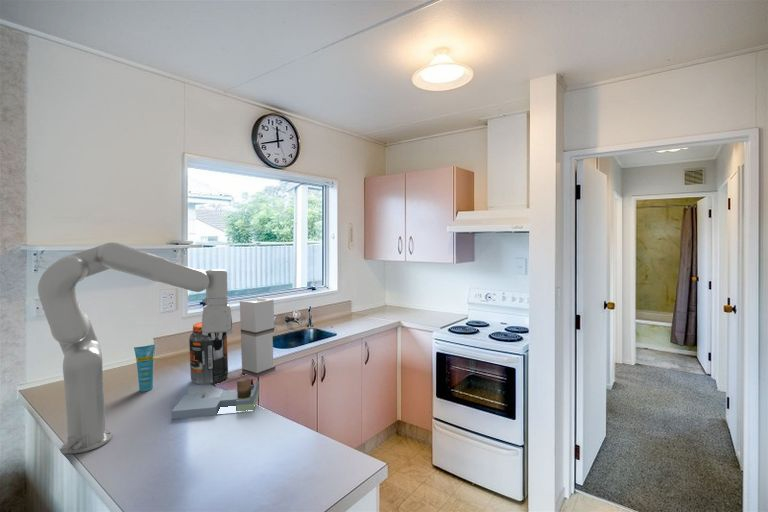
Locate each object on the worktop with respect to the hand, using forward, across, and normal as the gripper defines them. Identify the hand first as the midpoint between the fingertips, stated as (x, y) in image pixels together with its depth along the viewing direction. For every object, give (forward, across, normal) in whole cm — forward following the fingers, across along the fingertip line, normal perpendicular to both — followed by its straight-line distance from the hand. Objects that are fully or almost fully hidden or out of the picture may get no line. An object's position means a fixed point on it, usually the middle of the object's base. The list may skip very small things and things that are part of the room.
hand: (217, 349), depth 144 cm
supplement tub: (+23, -11, +32) cm, 41 cm away
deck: (+22, 0, +1) cm, 23 cm away
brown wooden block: (+19, +9, +1) cm, 21 cm away
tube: (+23, -35, +25) cm, 49 cm away
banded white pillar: (+22, +10, +37) cm, 44 cm away
